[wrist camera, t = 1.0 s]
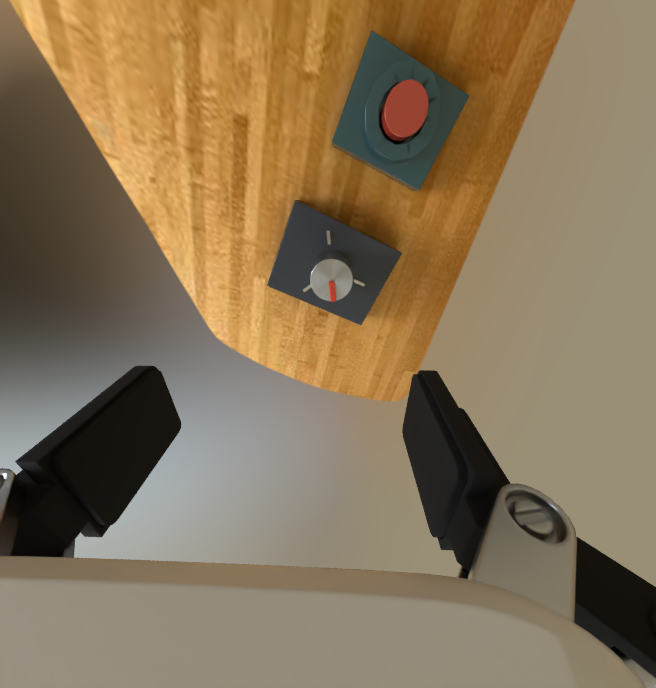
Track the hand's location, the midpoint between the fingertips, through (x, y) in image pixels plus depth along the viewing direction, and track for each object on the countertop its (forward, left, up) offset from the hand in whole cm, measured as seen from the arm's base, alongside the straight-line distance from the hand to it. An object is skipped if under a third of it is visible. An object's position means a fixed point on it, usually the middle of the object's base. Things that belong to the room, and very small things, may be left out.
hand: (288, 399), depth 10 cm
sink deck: (+2, 0, -26) cm, 26 cm away
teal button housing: (+2, +15, -26) cm, 30 cm away
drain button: (+2, +15, -22) cm, 27 cm away
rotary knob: (+2, 0, -23) cm, 23 cm away
